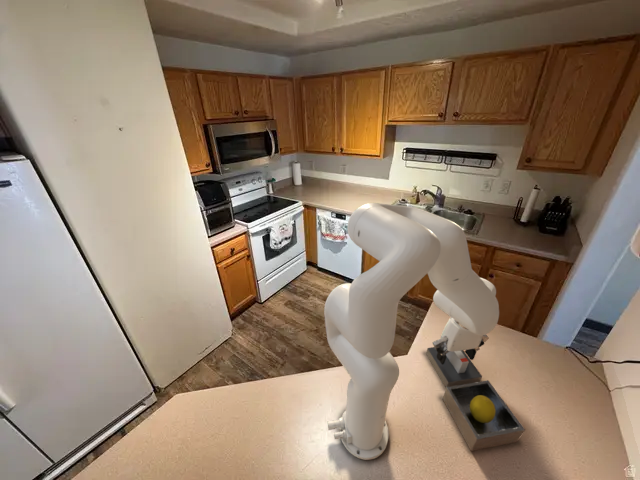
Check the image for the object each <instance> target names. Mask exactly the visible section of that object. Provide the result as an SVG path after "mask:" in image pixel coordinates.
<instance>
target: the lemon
mask: <svg viewBox="0 0 640 480" xmlns="http://www.w3.org/2000/svg"><path fill="white" fill-rule="evenodd" d="M470 411H471V414H472V416H473V417H474V418H475V419H476V420H478V421H479V422H482V423H489V422H491V421H492V420H493V419H494V416H495V406H494V404H493V402H492V401H491V400H490V399H489V398H487V397H485V396H482V395H478V396H476V397H474V398H473V399H472V400H471V402H470Z"/></svg>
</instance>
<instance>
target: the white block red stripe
mask: <svg viewBox="0 0 640 480" xmlns="http://www.w3.org/2000/svg"><path fill="white" fill-rule="evenodd" d="M445 349H447V348H446V347H444V350H445ZM446 356H447V357H448V359H449V360H450V362H451V363H452V365H453V367H454V368H455V370H456V371H457V373H464V372H465V370H466V368H467V365H468V363H469V361H468V360H467V358H466V357H465V356H464V354H463V353H462V352H461V351H455V352H451V351H450V352H448V353H447V354H446Z"/></svg>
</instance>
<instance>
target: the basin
mask: <svg viewBox="0 0 640 480" xmlns="http://www.w3.org/2000/svg"><path fill="white" fill-rule="evenodd" d="M478 395H482V396H485V397H487V398H489V399H490V400H491V401H492V402H493V404H494V406H495V416H494V419H493V420H492V421H491V422H489V423H482V422H479V421H478V420H476V419H475V418H474V417H473V416H472V414H471V411H470V402H471V400H472V399H473V398H474V397H476V396H478ZM442 401H443V403H444V405H445V406H446V409H447V410H448V412H449V414H450V416H451V417H452V419H453V421H454V423H455V425H456V426H457V429H458V431H459V432H460V434H461V435H462V438H463V440H464V441H465V443H466V445H467V447H468V448H469V450H470V452H472V451H477V450H483V449H488V448H493V447H497V446H502V445H503V446H504V445H507V444H513V443H517V442H518V441H519V440H520V438H521V437H522V435H523V434H524V432H525V431H526V428H525V427H524V426H523V425H522V423H521V422H520V421H519V419H518V418H517V417H516V415H515V414H514V413H513V411H512V410H511V409H510V407H509V406H508V405H507V403H506V402H505V401H504V399H503V398H502V397H501V395H500V393H499V392H498V391H497V390H496V389H495V388H494V386H493V384H492V383H491V382H490V381H489V380H488V379H487V380H481V381H480V382H475V383H469V384H463V385H457V386H451V387H447V388H446V387H445V391H444V394H443V397H442Z"/></svg>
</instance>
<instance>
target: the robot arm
mask: <svg viewBox="0 0 640 480" xmlns="http://www.w3.org/2000/svg"><path fill="white" fill-rule="evenodd" d="M347 234H348V236H349V239H350V240H351V241H352V243H354V244H355V245H356V246H357V247H358V248H360V249H361V250H363V251H364V252H366V253H367V254H368V255H370V256H372V257H373V258H374V259H376V260H377V261H378V262H377V263H375V265H374V266H372V267H371V268H369V269H368V270H366V271H364V272H362V273H361V274H359V275H358V276H356V277H355V278H354V280H352V282H351V283H350V282H348V283H347V282H346V283H341V284H339V285H337V286H336V287H334V288H333V289H332V290H331V292H329V294H328V296H327V298H326V300H325V303H324V307H323V313H324V325H325V332H326V339H327V343H328V344H327V345H328V346H329V348H330V350H331V351H332V353H333V354H334V356H335V357H336V358H337V360H338V361H339V362H340V364H341V365H342V367H343V369H344V370H345V371H346V373H347V374H348V375H349V377H350V379H349V381H348V383H347V386H346V406H345V410H344V412H343V413H342V415H341V417H338V419H336V420H335V419H333V420H332V419H331V420H328V421H327V422H326V423H327V431H333V430H336V429H337V430H338V429H339V431H336V432H333V438H334V440H341V442H342V444H343V446H344V448H345V449H346V450H347V451H348V452H349V454H351V455H353V457H355V458H358V459H361V460H366V461H369V460H374V459H376V458H379V457H380V456H381V455H382V454H383V453H384V452H385V450H386V449H387V446H388V442H389V427H388V424H387V421H386V416H387V413H388V412H387V411H388V406H389V401H390V396H391V393H392V391H393V389H394V388H395V385H396V384H397V382H398V380H399V376H400V367H399V365H398V364H399V363H398V362H397V360H396V359H395V357H394V356H393V355H392V353H391V349H392V347H393V345H394V341H395V336H396V328H397V327H396V326H397V318H398V317H397V316H398V308H399V304H400V303H399V302H400V301H401V299H402V298H403V296H405V295H406V294H407V293H408V292H409V291H410V290H411V289H413V287H415V285H417V284H418V283H419V282H420V281H421V280H422V279H423V278H424V277H425V276H426V275H427V276H428V278H429V281H430V283H431V284H432V285H433V287H434V288H435V289H436V291H435V292H434V294H433V297H432V301H433V303H434V305H435V306H436V307H437V308H438V309H439V311H442V312H443V313H444V314H446V315H447V316H449V319H448V320H447V321H446V324H445V325H444V328H443V330H442V332H441V335H440V338H439V339H436V340H434V341H433V342H432V346H433V347H435V349H436V351H437V352H438V353H437V359H438V360H439V361H440V363H441V364H444V363H445V360H446V357H447V356H446V354H447V353H448V352H450V351H451V352H455V351H462V350H463V351H464V352H465V354H466V355H467V356H468V358H469V359H470V360H471V361H473V360H474V359H475V357H476V355H477V352H478V351H480V350H481V349H480V347H483V346H485V343H486V342H487V341H488V340H489V339H490V337H489V336H488V334H490V333H491V332H492V331H494V329H495V328H496V326H497V325H498V322H499V318H500V305H499V301H498V298H497V297H496V295H497V288H496V286H495V284H494V283H492V282H491V281H490V280H487V279H486V278H483V277H480V276H479V275H478V273H476V272H475V271H474V270H473V268H472V267H473V266H472V261H471V256H470V251H469V245H468V241H467V240H468V239H467V236H466V233H465V231H464V230H463V228H462V227H461V226H460V225H459V224H457V223H455V222H454V221H452V220H450V219H448V218H445V217H443V216H440V215H438V214H435V213H432V212H430V211H427V210H425V209H422V208H419V207H415V206H409V205H399V204H388V203H379V202H369V203H364V204H362V205H360V206H359V207H357V208H356V209H355V210H354V211H353V212H352V213H351V215H350V216H349V219H348V221H347ZM444 346H445V347H446V348H447V349H445V350H443V347H444Z"/></svg>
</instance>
